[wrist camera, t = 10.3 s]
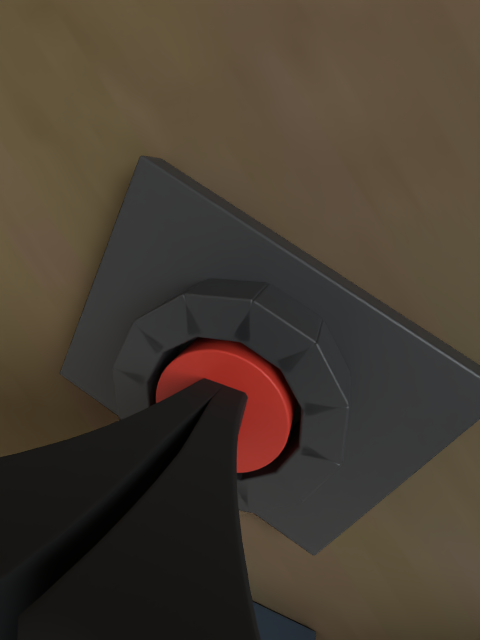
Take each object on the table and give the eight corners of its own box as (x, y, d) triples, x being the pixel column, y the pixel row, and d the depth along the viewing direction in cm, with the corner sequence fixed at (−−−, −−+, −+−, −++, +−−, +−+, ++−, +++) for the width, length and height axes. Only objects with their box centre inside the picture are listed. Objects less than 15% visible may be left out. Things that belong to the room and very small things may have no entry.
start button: (325, 377, 10) (319, 409, 9) (257, 456, 12) (243, 496, 11) (214, 302, 11) (190, 321, 9) (163, 391, 12) (136, 419, 11)
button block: (494, 374, 10) (543, 438, 8) (317, 529, 14) (308, 608, 12) (160, 157, 11) (97, 146, 8) (79, 361, 15) (19, 398, 12)
